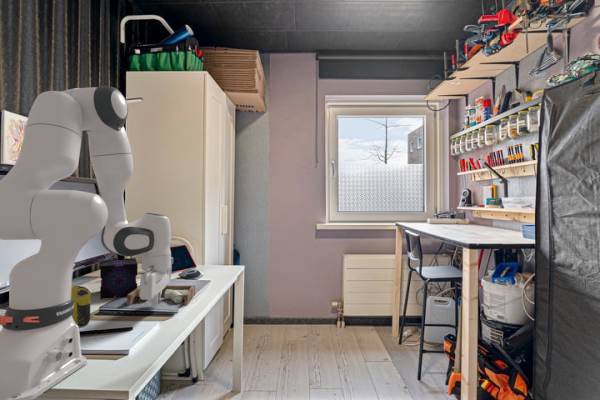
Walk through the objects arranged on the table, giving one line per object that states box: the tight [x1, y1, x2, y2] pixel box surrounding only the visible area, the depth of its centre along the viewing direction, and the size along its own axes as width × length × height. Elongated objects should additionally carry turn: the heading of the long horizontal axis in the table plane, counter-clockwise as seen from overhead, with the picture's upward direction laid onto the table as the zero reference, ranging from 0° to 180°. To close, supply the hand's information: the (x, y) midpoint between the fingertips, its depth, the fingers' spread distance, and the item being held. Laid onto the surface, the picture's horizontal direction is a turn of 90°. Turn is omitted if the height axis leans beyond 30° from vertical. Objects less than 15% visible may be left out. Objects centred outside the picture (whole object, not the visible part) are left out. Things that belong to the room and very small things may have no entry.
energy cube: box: [99, 257, 139, 300], centre depth 133 cm, size 12×12×12 cm
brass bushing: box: [136, 291, 147, 302], centre depth 126 cm, size 4×4×5 cm
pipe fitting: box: [164, 289, 188, 304], centre depth 125 cm, size 8×4×7 cm
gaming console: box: [71, 284, 92, 326], centre depth 107 cm, size 26×4×10 cm, turn 57°
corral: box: [126, 285, 196, 307], centre depth 125 cm, size 12×20×4 cm, turn 95°
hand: (155, 305), depth 114 cm, fingers closed
